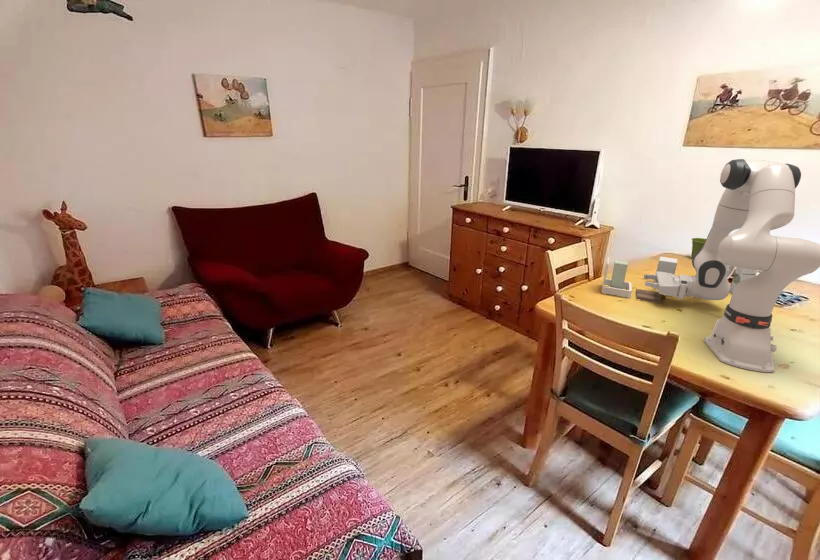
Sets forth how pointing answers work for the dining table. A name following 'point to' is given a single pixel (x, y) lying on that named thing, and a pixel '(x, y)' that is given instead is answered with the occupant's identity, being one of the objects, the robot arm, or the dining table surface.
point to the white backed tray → (616, 290)
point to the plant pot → (697, 245)
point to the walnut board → (648, 295)
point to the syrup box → (742, 276)
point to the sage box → (618, 274)
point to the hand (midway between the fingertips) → (644, 279)
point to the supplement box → (667, 265)
